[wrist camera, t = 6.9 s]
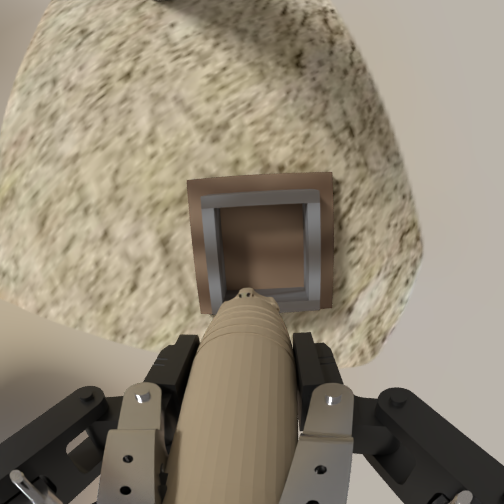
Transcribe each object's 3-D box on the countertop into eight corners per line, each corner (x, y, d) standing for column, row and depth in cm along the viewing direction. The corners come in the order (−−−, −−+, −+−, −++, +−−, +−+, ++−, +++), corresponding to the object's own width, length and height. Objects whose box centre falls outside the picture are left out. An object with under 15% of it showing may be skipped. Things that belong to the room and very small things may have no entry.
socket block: (189, 180, 32) (176, 180, 27) (329, 172, 32) (341, 171, 26) (203, 308, 36) (194, 329, 31) (329, 302, 36) (339, 323, 30)
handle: (186, 277, 16) (4, 540, 1) (305, 264, 15) (434, 593, 1) (202, 352, 17) (122, 598, 2) (310, 343, 16) (366, 609, 2)
